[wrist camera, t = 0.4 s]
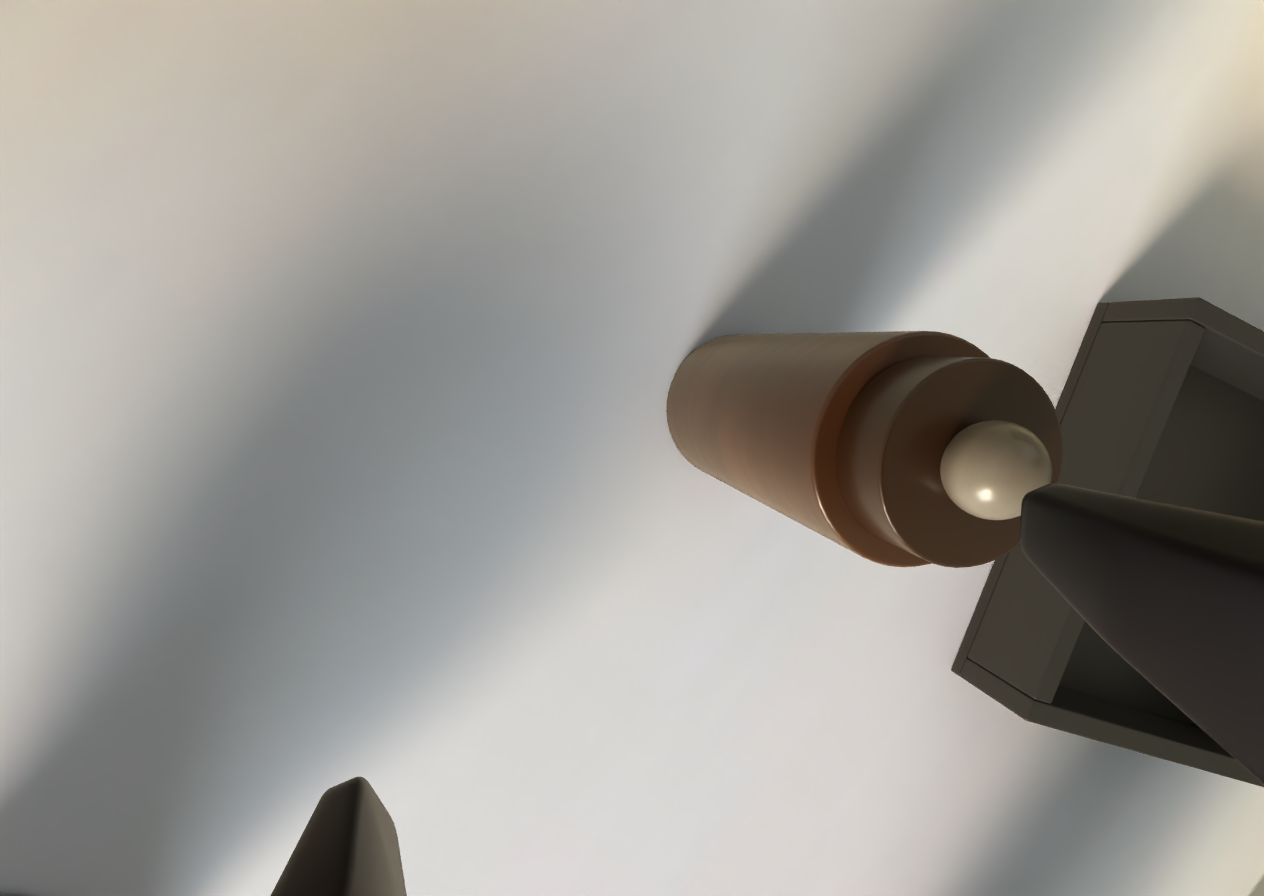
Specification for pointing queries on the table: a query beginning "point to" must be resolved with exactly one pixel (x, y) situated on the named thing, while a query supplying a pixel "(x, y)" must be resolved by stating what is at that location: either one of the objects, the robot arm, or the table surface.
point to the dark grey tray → (1140, 468)
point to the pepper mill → (872, 438)
